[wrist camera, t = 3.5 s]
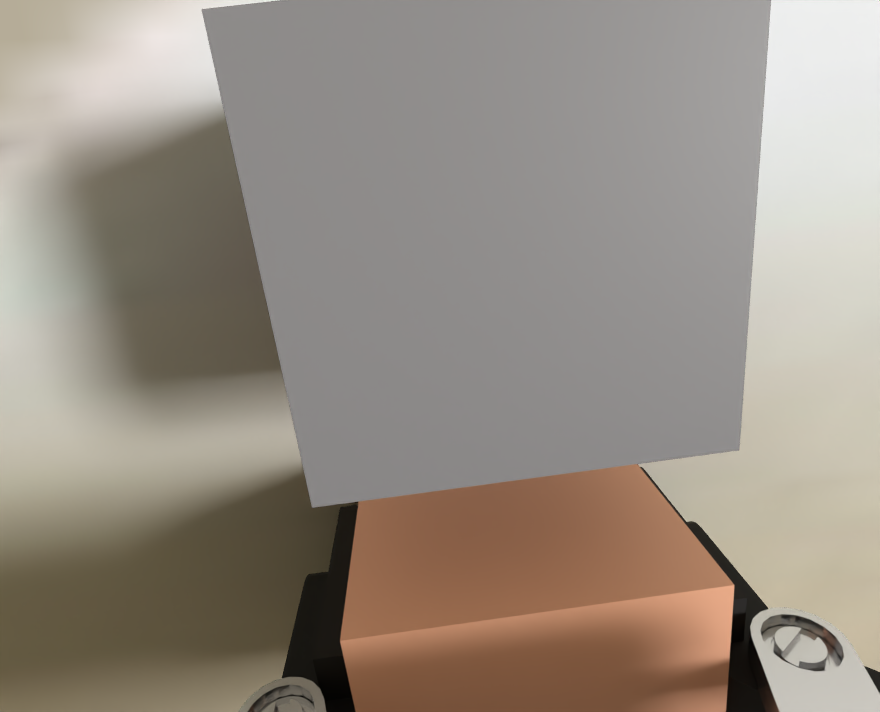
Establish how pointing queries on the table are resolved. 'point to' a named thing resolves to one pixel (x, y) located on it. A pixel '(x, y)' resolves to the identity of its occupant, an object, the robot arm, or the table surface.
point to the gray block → (499, 229)
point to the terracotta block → (535, 601)
